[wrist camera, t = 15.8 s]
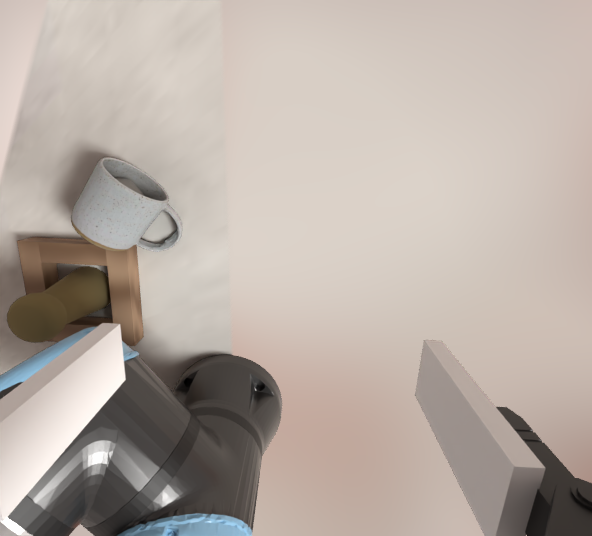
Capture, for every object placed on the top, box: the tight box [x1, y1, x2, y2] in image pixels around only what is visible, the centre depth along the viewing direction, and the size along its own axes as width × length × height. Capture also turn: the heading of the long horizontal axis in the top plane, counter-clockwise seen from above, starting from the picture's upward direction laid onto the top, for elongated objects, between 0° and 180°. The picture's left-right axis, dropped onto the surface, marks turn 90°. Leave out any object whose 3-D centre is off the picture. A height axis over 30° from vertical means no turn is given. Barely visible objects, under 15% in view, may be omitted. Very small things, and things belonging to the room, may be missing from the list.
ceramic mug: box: [71, 157, 182, 252], centre depth 39 cm, size 11×8×8 cm
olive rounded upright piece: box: [7, 266, 111, 342], centre depth 40 cm, size 6×6×11 cm
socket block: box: [17, 237, 144, 346], centre depth 44 cm, size 13×13×2 cm
